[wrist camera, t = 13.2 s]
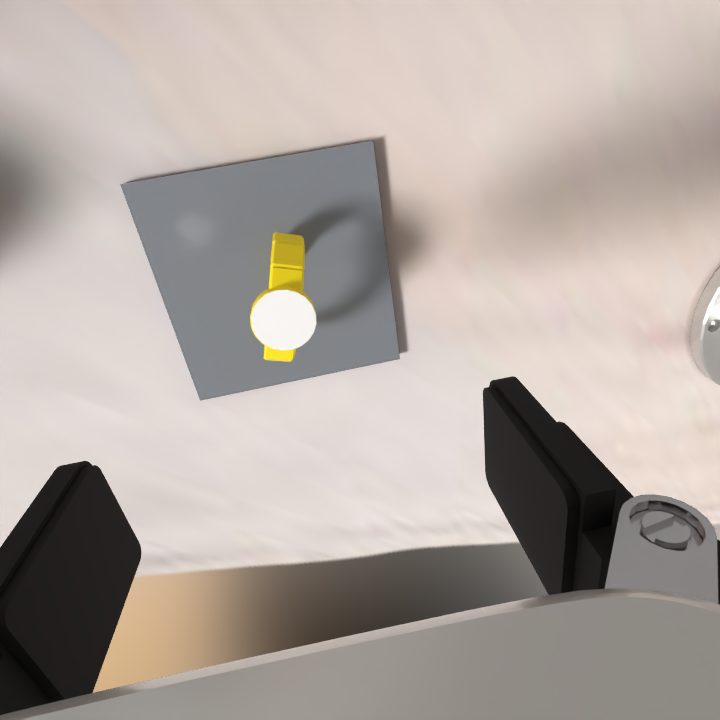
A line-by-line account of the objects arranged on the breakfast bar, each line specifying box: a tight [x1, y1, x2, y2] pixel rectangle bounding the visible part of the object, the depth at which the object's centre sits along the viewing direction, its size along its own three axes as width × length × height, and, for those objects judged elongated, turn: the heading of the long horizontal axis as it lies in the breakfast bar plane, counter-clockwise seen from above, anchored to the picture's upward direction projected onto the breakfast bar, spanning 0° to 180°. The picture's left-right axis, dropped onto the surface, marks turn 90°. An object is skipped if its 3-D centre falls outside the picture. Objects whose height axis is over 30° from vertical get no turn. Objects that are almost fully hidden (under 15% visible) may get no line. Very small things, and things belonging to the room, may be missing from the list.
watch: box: [250, 232, 317, 362], centre depth 22 cm, size 6×3×6 cm, turn 171°
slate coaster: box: [120, 141, 400, 400], centre depth 25 cm, size 12×12×1 cm
